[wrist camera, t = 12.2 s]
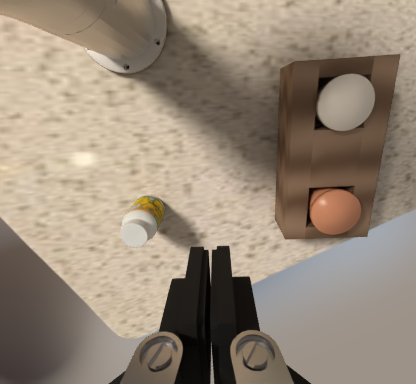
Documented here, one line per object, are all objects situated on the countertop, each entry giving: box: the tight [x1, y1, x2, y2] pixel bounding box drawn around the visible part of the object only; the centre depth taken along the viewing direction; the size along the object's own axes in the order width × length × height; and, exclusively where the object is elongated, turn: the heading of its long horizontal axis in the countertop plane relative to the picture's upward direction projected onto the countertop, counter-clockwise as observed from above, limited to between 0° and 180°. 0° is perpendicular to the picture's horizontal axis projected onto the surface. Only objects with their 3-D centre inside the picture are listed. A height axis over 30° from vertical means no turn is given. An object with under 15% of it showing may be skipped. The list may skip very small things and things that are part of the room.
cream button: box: [315, 74, 375, 131], centre depth 32 cm, size 6×6×6 cm
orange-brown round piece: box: [307, 187, 361, 235], centre depth 36 cm, size 6×6×6 cm
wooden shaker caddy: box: [275, 54, 400, 239], centre depth 36 cm, size 24×12×7 cm, turn 3°
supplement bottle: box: [120, 195, 165, 248], centre depth 40 cm, size 5×5×10 cm
